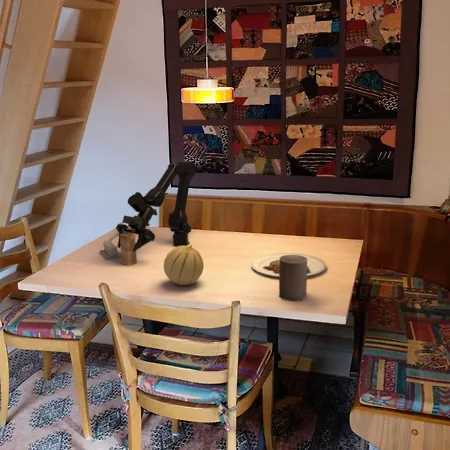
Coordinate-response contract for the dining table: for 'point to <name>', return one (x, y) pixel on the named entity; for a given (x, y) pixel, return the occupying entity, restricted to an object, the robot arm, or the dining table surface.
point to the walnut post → (128, 248)
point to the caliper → (112, 235)
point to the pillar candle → (292, 277)
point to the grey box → (110, 251)
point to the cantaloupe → (183, 265)
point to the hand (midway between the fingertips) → (125, 249)
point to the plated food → (271, 264)
